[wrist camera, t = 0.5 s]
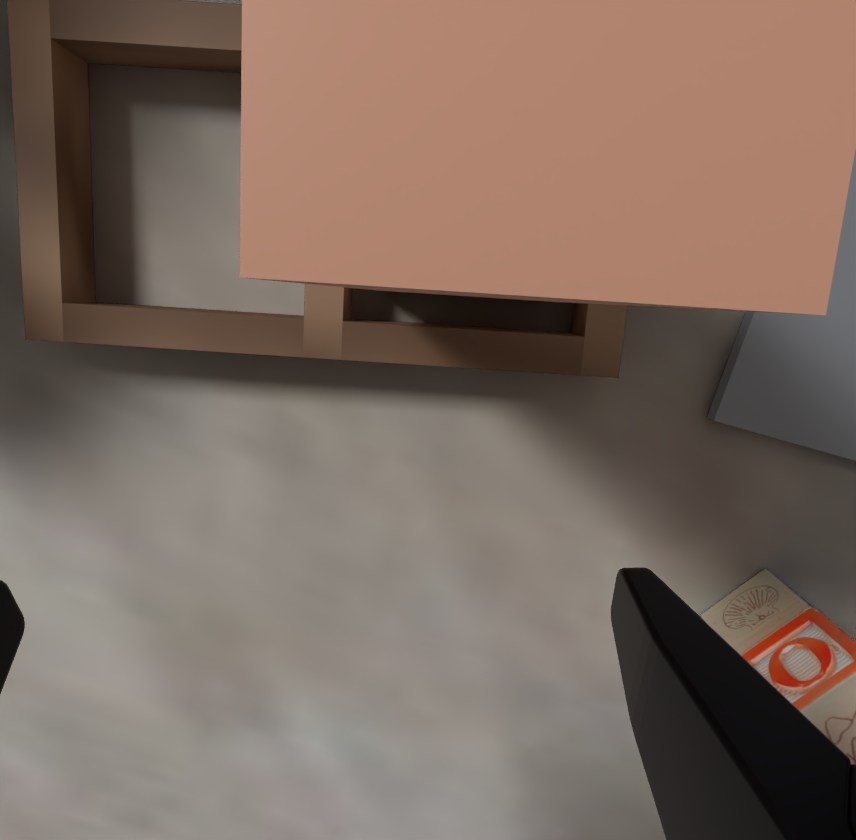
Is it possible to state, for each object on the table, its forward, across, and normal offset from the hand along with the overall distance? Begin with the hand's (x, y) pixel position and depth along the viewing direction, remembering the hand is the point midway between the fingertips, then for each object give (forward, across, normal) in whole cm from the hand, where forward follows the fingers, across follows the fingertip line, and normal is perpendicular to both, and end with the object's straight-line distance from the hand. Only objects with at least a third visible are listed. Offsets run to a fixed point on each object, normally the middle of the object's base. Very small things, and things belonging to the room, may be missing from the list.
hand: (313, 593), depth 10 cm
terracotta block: (+15, -3, -2) cm, 15 cm away
